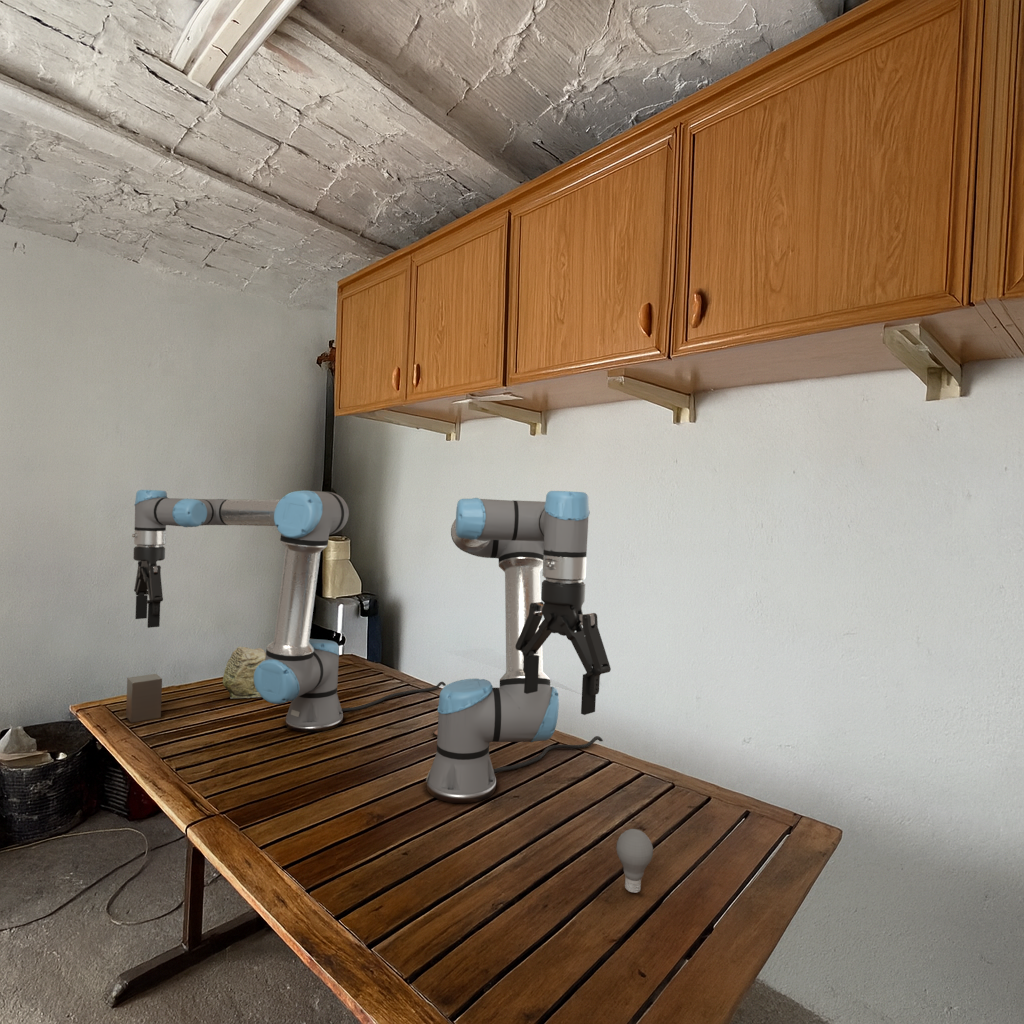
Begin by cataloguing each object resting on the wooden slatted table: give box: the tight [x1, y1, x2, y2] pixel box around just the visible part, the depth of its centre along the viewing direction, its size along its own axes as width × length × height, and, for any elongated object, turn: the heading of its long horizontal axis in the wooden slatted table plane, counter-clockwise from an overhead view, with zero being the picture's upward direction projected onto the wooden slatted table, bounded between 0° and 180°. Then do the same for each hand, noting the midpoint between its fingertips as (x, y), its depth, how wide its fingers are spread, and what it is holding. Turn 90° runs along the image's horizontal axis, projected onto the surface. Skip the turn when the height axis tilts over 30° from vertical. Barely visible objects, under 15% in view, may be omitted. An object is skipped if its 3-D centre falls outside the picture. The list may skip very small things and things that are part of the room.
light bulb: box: [615, 828, 654, 894], centre depth 106 cm, size 6×6×10 cm
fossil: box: [222, 646, 266, 699], centre depth 198 cm, size 9×18×15 cm, turn 132°
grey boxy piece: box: [125, 673, 163, 724], centre depth 175 cm, size 6×7×11 cm
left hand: (147, 622), depth 175 cm, fingers open, 13 cm apart
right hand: (558, 702), depth 110 cm, fingers open, 13 cm apart
